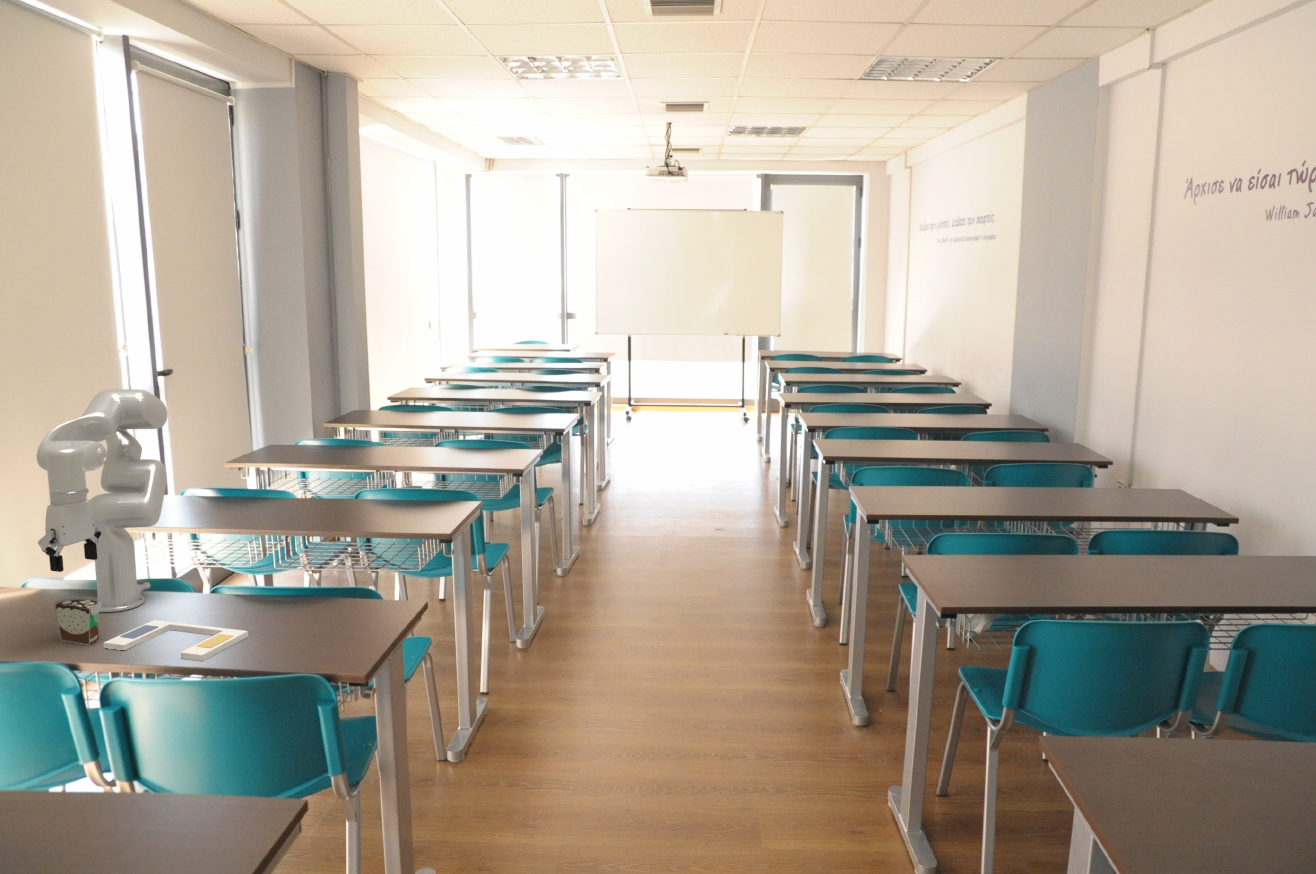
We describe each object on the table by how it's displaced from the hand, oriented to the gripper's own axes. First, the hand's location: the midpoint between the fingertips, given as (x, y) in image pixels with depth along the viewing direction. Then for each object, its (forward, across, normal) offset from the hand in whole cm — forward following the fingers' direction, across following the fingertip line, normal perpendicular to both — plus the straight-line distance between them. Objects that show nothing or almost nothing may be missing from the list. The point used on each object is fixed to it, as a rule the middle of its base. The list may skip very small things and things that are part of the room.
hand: (74, 565), depth 215 cm
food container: (+20, -2, 0) cm, 20 cm away
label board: (+20, -6, +23) cm, 31 cm away
